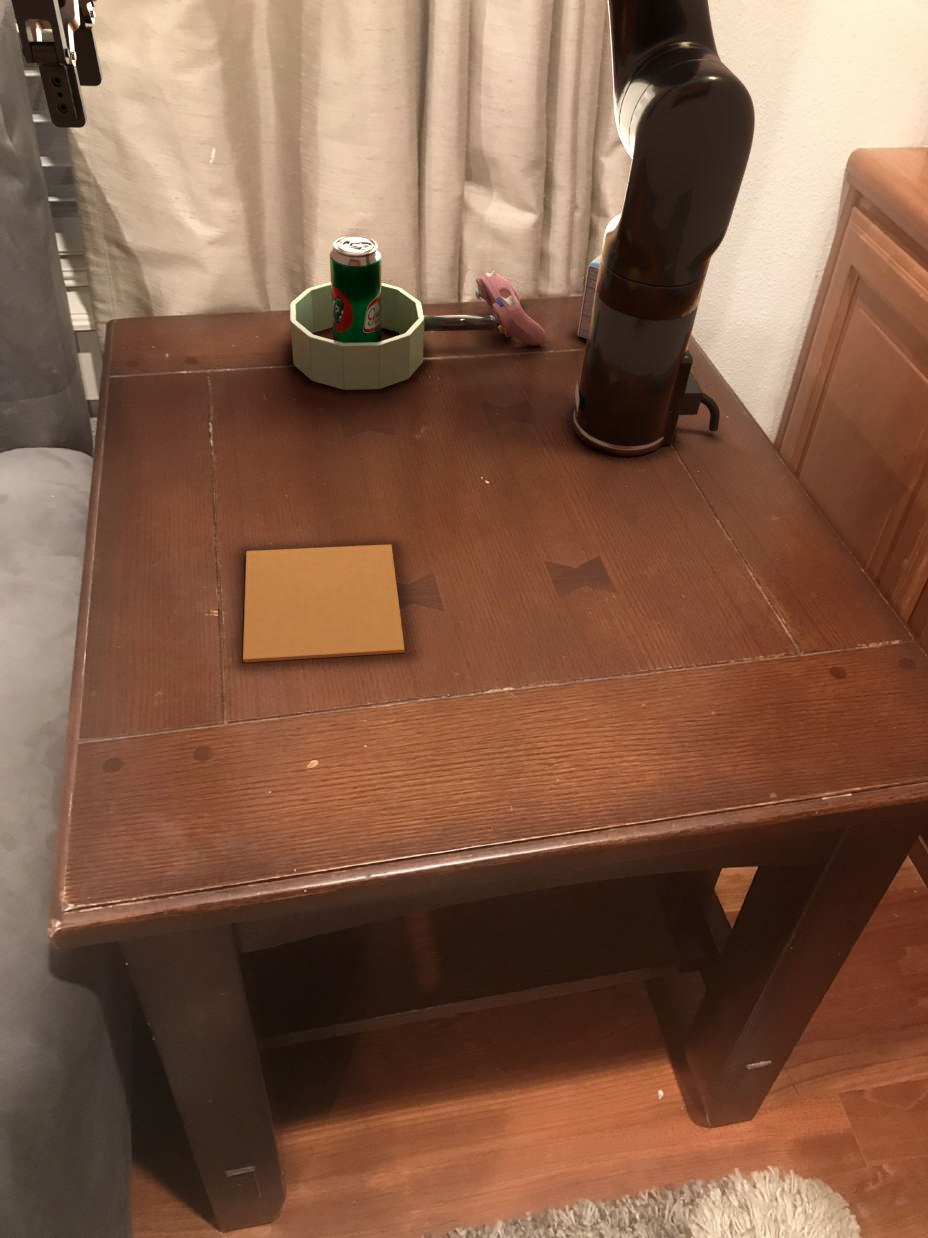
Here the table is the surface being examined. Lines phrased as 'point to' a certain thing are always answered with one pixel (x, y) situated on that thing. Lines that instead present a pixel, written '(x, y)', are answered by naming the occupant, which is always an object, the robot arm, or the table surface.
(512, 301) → the video game controller
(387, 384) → the pan
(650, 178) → the robot arm
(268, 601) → the cork mat
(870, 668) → the table surface
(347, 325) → the soda can
